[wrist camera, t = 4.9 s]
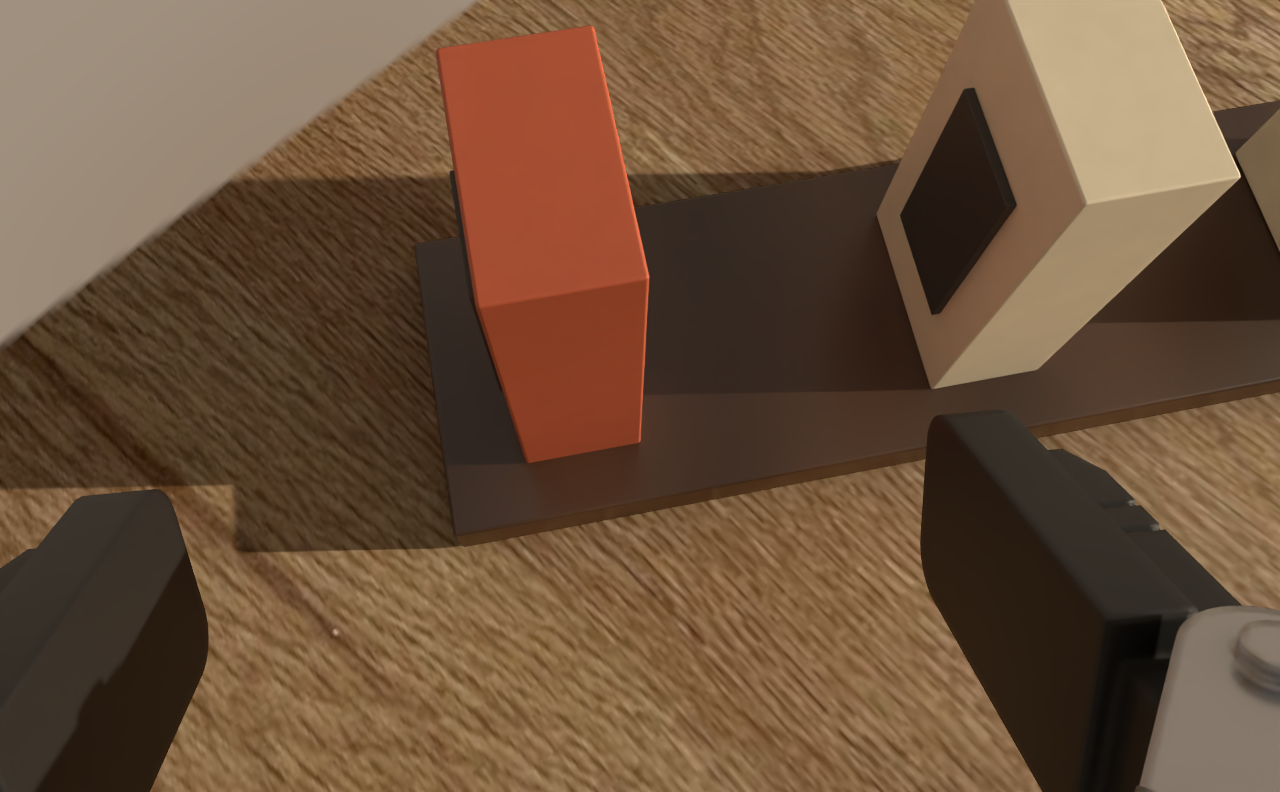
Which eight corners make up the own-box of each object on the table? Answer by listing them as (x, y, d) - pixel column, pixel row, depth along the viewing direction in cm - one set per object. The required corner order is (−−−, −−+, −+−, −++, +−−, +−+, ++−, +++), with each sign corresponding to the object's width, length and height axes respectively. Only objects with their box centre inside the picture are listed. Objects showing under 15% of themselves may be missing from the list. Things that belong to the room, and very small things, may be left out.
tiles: (921, 391, 23) (1071, 206, 15) (867, 215, 24) (978, -35, 16) (1409, 301, 23) (1781, 84, 16) (1328, 136, 25) (1634, -134, 17)
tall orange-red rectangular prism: (517, 466, 22) (461, 310, 14) (486, 279, 23) (421, 48, 16) (640, 443, 22) (650, 278, 14) (603, 260, 23) (593, 23, 16)
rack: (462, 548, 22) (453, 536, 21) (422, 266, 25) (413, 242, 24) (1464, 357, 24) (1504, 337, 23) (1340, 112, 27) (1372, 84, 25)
